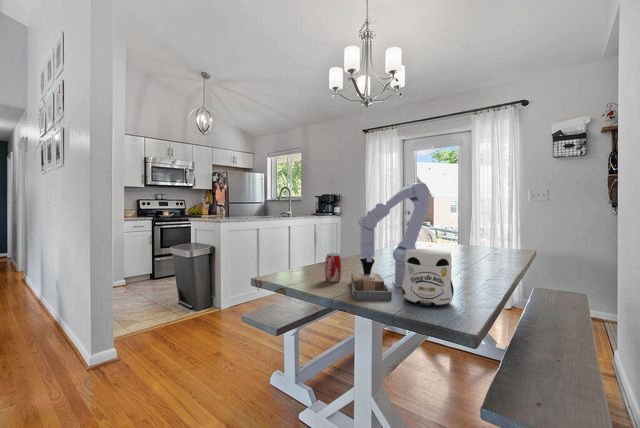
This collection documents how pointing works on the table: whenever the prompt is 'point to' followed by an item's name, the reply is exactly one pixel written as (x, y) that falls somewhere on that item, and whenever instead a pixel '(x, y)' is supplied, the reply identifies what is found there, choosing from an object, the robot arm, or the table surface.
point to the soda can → (333, 267)
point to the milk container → (428, 277)
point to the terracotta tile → (368, 285)
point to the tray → (372, 294)
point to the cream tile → (367, 277)
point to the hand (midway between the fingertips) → (367, 276)
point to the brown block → (358, 282)
